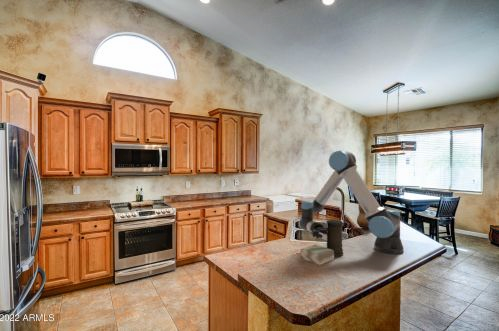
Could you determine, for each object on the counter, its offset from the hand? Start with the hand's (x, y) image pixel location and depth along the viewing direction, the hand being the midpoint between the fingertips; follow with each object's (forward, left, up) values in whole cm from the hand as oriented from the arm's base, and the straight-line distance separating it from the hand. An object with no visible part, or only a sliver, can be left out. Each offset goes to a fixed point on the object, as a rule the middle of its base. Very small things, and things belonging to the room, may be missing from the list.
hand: (337, 237), depth 138 cm
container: (+2, -1, -10) cm, 11 cm away
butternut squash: (+20, -72, -10) cm, 75 cm away
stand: (+3, +13, -10) cm, 17 cm away
